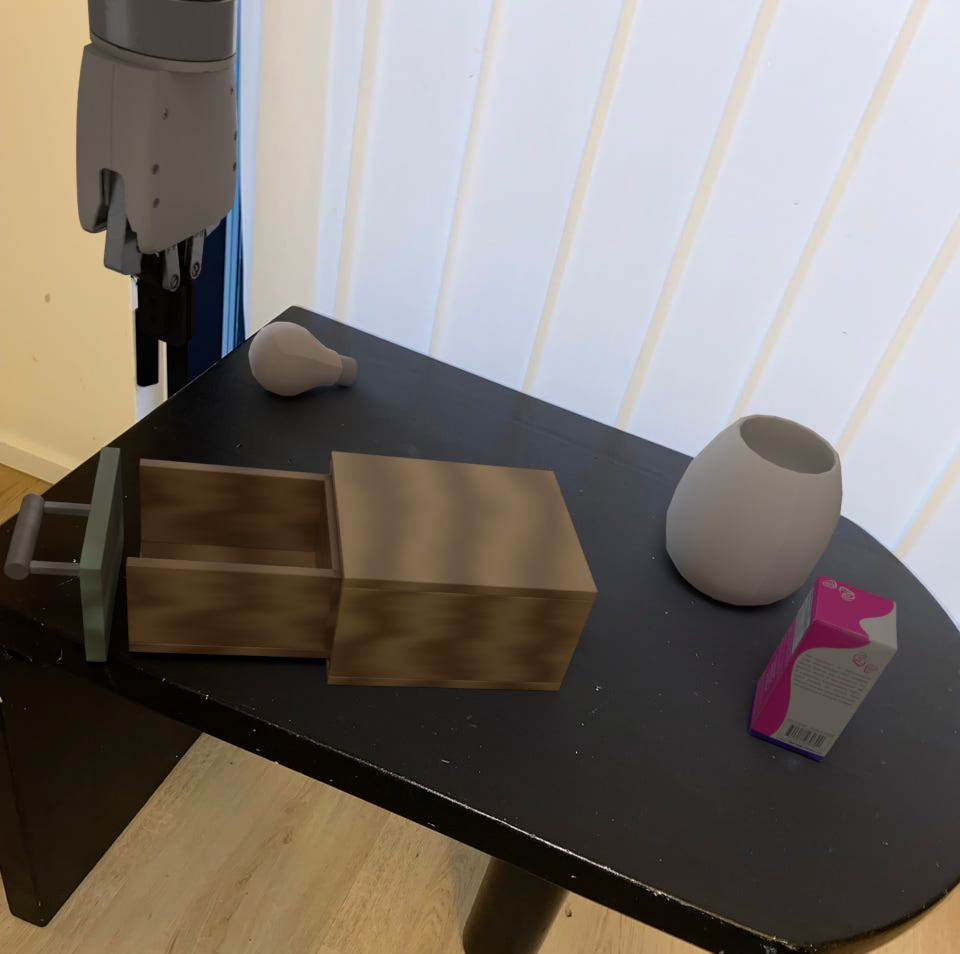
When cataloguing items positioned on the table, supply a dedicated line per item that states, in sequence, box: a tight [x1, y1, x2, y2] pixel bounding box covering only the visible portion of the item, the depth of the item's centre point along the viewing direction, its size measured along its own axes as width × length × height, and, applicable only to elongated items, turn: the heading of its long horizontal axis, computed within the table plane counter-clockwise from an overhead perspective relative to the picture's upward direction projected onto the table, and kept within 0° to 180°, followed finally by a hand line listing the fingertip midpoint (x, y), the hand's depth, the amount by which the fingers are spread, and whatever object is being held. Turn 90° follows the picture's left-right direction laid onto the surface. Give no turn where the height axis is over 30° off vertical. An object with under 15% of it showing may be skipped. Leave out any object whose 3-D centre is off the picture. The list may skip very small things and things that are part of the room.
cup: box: [665, 413, 844, 606], centre depth 81 cm, size 13×13×14 cm
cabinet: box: [324, 450, 598, 692], centre depth 70 cm, size 17×14×10 cm
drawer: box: [3, 446, 342, 663], centre depth 65 cm, size 20×12×8 cm, turn 99°
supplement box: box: [747, 574, 898, 763], centre depth 69 cm, size 6×6×12 cm
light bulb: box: [247, 321, 359, 397], centre depth 91 cm, size 7×7×11 cm
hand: (166, 335), depth 64 cm, fingers closed
